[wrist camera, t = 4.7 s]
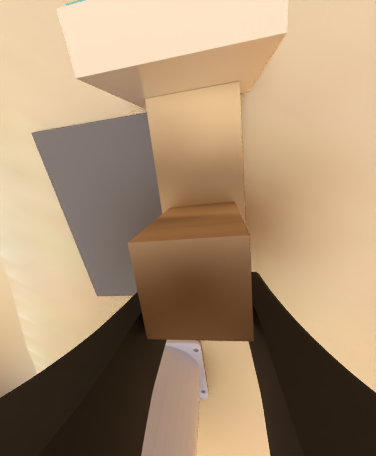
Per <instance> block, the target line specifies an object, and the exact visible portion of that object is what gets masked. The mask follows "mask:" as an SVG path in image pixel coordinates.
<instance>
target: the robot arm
mask: <svg viewBox="0 0 376 456" xmlns="http://www.w3.org/2000/svg"><path fill="white" fill-rule="evenodd" d="M251 280H252V307H253V335H254V341H249V344H250V349H251V353H252V357H253V362H254V366H255V370H256V375H257V379H258V383H259V388H260V392H261V398H262V403H263V409H264V416H265V422H266V429H267V435H268V442H269V449H270V455H271V456H376V393H375V392H374V391H373V390H372V389H370V388H369V387H368V386H367V385H365V384H364V383H363V382H362V381H361V380H359V379H358V378H357V377H356V376H354V375H353V374H352V373H351V372H350V371H348V370H347V369H346V368H345V367H344V366H343V365H342V364H341V363H339V362H338V361H337V360H336V359H335V358H334V357H333V356H332V355H331V354H329V353H328V352H327V351H326V350H325V349H324V348H323V347H322V346H321V345H320V344H319V343H318V342H317V341H316V340H315V339H314V338H313V337H312V336H311V335H310V334H309V333H308V332H307V331H306V330H305V329H304V328H303V327H302V326H301V325H300V324H299V323H298V322H297V321H296V320H295V319H294V318H293V317H292V315H291V314H290V313H289V312H288V311H287V310H286V309H285V307H284V306H283V305H282V304H281V303H280V301H279V300H278V299H277V298H276V297H275V295H274V294H273V293H272V292H271V290H270V289H269V288H268V286H267V285H266V284H265V282H264V281H263V279H262V278H261V276H260V275H259V274H258V273H257V272H251ZM208 397H209V393H208V387H207V381H206V375H205V368H204V362H203V356H202V350H201V344H200V342H199V341H197V340H165V339H147V335H146V330H145V325H144V321H143V316H142V311H141V306H140V301H139V296H138V292H137V293H136V294H135V295H134V296H133V297H132V298H131V299H130V300H129V301H128V302H127V303H126V304H125V305H124V306H123V307H122V308H121V309H119V310H118V311H117V312H116V313H115V314H114V315H113V316H112V317H111V318H110V319H109V320H108V321H107V322H105V323H104V324H103V325H102V326H101V327H100V328H99V329H98V330H96V331H95V332H94V333H93V334H92V335H90V336H89V337H88V338H87V339H85V340H84V341H83V342H82V343H80V344H79V345H78V346H76V347H75V348H74V349H73V350H71V351H70V352H68V353H67V354H66V355H64V356H63V357H61V358H60V359H59V360H57V361H56V362H54V363H53V364H52V365H50V366H49V367H47V368H46V369H45V370H43V371H42V372H40V373H39V374H37V375H36V376H34V377H33V378H31V379H30V380H28V381H27V382H25V383H23V384H22V385H20V386H19V387H17V388H16V389H14V390H12V391H11V392H9V393H7V394H6V395H4V396H2V397H1V398H0V456H196V452H197V436H198V419H199V403H200V399H207V398H208Z"/></svg>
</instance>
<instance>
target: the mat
mask: <svg viewBox="0 0 376 456" xmlns="http://www.w3.org/2000/svg"><path fill="white" fill-rule="evenodd" d="M32 136H33V138H34V141H35V143H36V146H37V148H38V151H39V153H40V156H41V158H42V161H43V163H44V166H45V168H46V170H47V173H48V175H49V178H50V180H51V183H52V185H53V188H54V190H55V193H56V195H57V198H58V200H59V203H60V205H61V208H62V210H63V213H64V215H65V218H66V220H67V222H68V225H69V227H70V230H71V232H72V235H73V237H74V240H75V242H76V245H77V247H78V250H79V252H80V255H81V257H82V260H83V262H84V265H85V267H86V270H87V272H88V274H89V277H90V279H91V282H92V284H93V287H94V289H95V292H96V294H97V296H129V295H135V294H136V293H137V292H138V291H137V286H136V282H135V277H134V272H133V267H132V262H131V257H130V252H129V248H128V242H129V241H130V240H132V239H133V238H134V237H135V236H136V235H138V234H139V233H140V232H141V231H142V230H144V229H145V228H146V227H147V226H148V225H150V224H151V223H152V222H153V221H154V220H156V219H157V218H158V217H159V216H161V215H162V208H161V202H160V195H159V188H158V182H157V175H156V169H155V162H154V155H153V149H152V142H151V136H150V129H149V122H148V116H147V113H142V114H137V115H131V116H125V117H120V118H114V119H108V120H102V121H97V122H91V123H85V124H80V125H74V126H68V127H62V128H57V129H51V130H45V131H40V132H34V133H32Z"/></svg>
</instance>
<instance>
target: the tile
mask: <svg viewBox="0 0 376 456" xmlns="http://www.w3.org/2000/svg"><path fill="white" fill-rule="evenodd" d="M56 10H57V13H58V17H59V20H60V24H61V27H62V31H63V34H64V38H65V42H66V45H67V49H68V52H69V56H70V59H71V63H72V66H73V70H74V74H75V77H76V79H78V80H81V81H83V82H85V83H87V84H90V85H92V86H94V87H97V88H99V89H101V90H103V91H106V92H108V93H110V94H112V95H115V96H117V97H119V98H122V99H124V100H126V101H128V102H131V103H133V104H135V105H137V106H140V107H142V108H144V109H146V103H145V99H147V98H152V97H157V96H163V95H168V94H174V93H179V92H184V91H190V90H195V89H200V88H206V87H211V86H216V85H222V84H227V83H233V82H238V81H240V93H245V92H248V91H249V90H250V88H251V87H252V85H253V84H254V82H255V81H256V79H257V78H258V76H259V75H260V73H261V72H262V70H263V69H264V67H265V65H266V64H267V62H268V61H269V59H270V58H271V56H272V55H273V53H274V52H275V50H276V49H277V47H278V46H279V44H280V42H281V41H282V39H283V38H284V36H285V35H286V33H287V19H288V0H78V1H74V2H71V3H68V4H66V6H64V7H61V8H57V9H56Z"/></svg>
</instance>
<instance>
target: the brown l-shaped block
mask: <svg viewBox="0 0 376 456" xmlns="http://www.w3.org/2000/svg"><path fill="white" fill-rule="evenodd" d="M145 103H146V109H147V116H148V122H149V129H150V136H151V142H152V149H153V155H154V162H155V169H156V175H157V182H158V188H159V195H160V202H161V208H162V215H161V216H159V217H158V218H157V219H156V220H154V221H153V222H152V223H151V224H150V225H148V226H147V227H146V228H145V229H144V230H142V231H141V232H140V233H139V234H138V235H136V236H135V237H134V238H133V239H132V240H130V241H129V242H128V248H129V252H130V257H131V262H132V267H133V272H134V277H135V282H136V286H137V291H138V296H139V301H140V306H141V311H142V316H143V321H144V325H145V330H146V335H147V339H165V340H212V341H254V335H253V307H252V280H251V252H250V234H249V232H248V230H247V228H246V222H245V198H244V174H243V150H242V126H241V102H240V81H238V82H233V83H227V84H222V85H216V86H211V87H206V88H200V89H195V90H190V91H184V92H179V93H174V94H168V95H163V96H157V97H152V98H147V99H145Z"/></svg>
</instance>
